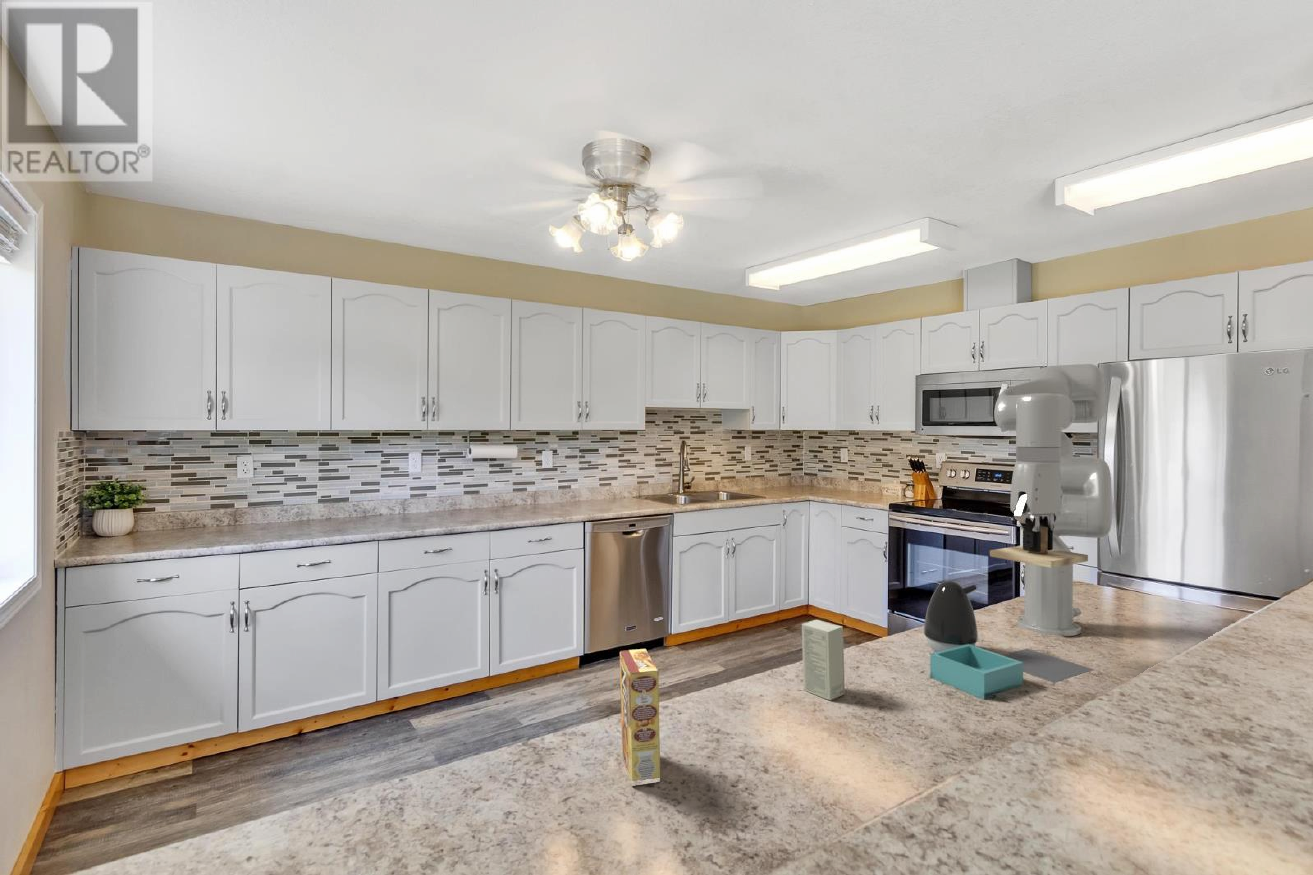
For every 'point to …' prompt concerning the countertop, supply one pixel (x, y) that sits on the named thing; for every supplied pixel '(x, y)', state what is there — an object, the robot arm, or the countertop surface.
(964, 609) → the pump dispenser
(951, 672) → the dish
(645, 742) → the candy box
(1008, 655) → the mat
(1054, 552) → the lid
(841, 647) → the skincare box
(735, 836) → the countertop surface
